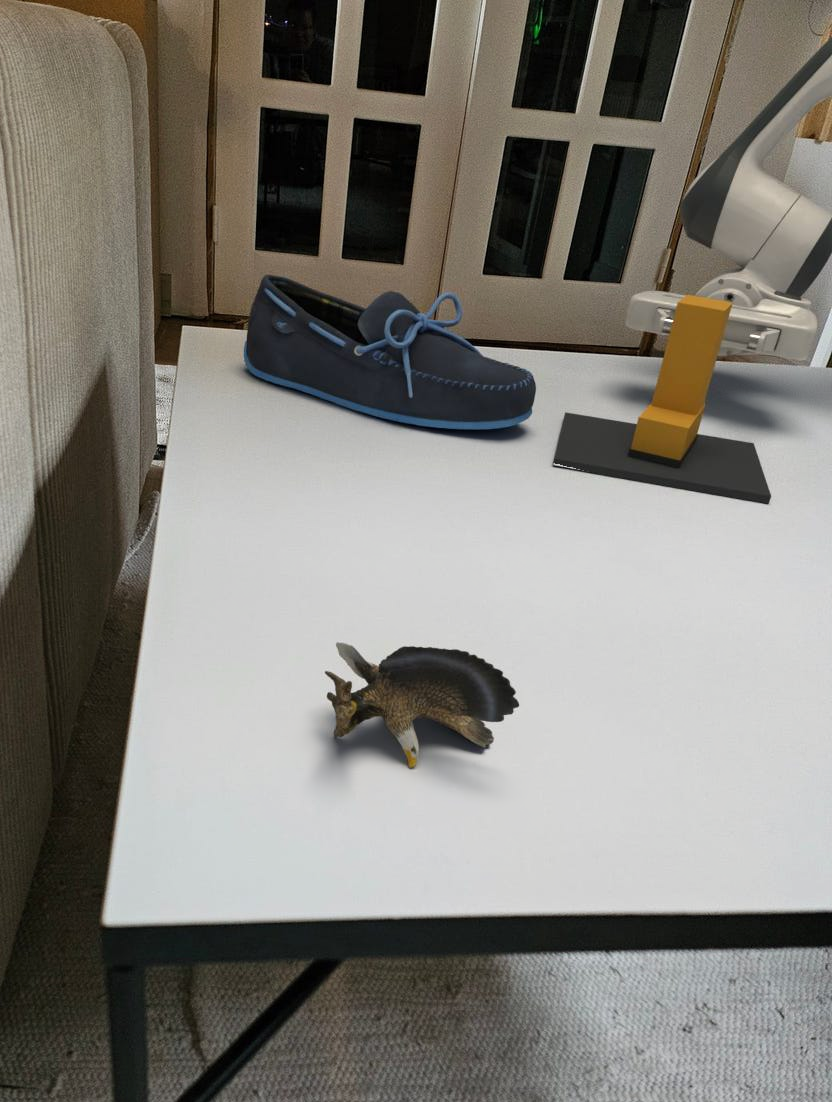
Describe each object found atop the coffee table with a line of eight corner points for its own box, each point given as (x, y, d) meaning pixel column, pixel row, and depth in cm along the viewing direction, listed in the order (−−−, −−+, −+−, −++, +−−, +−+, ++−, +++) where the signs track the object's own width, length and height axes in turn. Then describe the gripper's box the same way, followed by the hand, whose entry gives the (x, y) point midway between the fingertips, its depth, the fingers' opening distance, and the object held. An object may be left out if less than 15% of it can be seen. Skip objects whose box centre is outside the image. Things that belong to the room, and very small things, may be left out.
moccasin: (505, 455, 92) (527, 332, 86) (203, 384, 103) (204, 271, 97) (542, 419, 103) (564, 308, 97) (265, 359, 114) (270, 256, 108)
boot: (648, 430, 100) (684, 293, 93) (696, 441, 99) (736, 302, 91) (627, 456, 92) (664, 309, 85) (678, 468, 91) (721, 319, 83)
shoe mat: (751, 450, 100) (753, 443, 100) (768, 504, 87) (771, 496, 86) (563, 419, 104) (565, 412, 103) (552, 466, 90) (554, 458, 90)
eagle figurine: (354, 791, 45) (532, 751, 46) (325, 645, 45) (504, 609, 46) (336, 771, 53) (489, 738, 54) (311, 646, 53) (465, 616, 54)
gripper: (646, 272, 113) (620, 288, 102) (826, 303, 106) (819, 322, 95) (633, 326, 116) (606, 346, 106) (807, 359, 109) (798, 384, 99)
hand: (709, 335), depth 100 cm, fingers open, 8 cm apart
